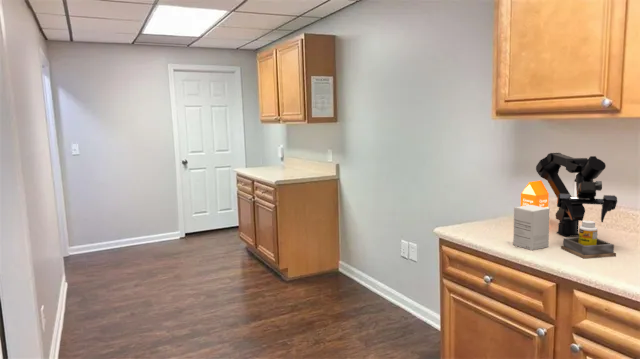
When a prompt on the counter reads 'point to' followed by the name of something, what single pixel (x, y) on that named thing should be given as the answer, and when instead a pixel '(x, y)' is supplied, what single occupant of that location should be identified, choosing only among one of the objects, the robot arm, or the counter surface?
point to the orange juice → (535, 195)
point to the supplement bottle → (588, 233)
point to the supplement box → (531, 227)
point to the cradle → (588, 248)
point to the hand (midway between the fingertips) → (587, 220)
